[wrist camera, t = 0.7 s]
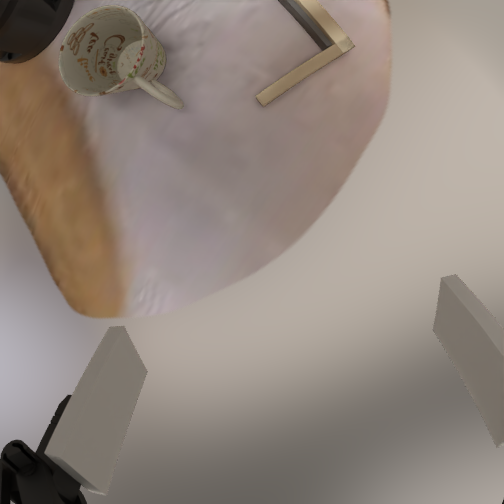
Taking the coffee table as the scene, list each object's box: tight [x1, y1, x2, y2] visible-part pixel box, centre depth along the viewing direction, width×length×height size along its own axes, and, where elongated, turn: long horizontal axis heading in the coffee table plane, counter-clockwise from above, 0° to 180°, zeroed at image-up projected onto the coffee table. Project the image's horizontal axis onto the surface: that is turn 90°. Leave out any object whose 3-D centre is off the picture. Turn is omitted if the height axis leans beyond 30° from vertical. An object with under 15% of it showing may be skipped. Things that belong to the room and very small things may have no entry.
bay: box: [256, 0, 355, 107], centre depth 24 cm, size 21×11×4 cm, turn 38°
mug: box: [59, 5, 184, 109], centre depth 24 cm, size 8×13×10 cm, turn 48°
